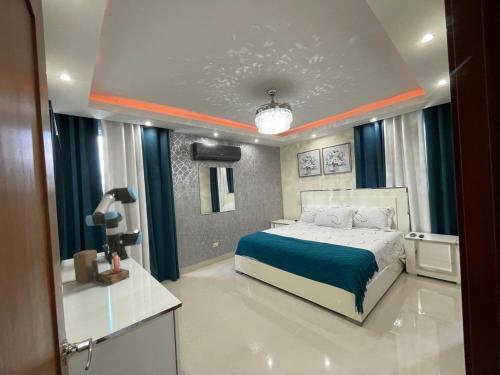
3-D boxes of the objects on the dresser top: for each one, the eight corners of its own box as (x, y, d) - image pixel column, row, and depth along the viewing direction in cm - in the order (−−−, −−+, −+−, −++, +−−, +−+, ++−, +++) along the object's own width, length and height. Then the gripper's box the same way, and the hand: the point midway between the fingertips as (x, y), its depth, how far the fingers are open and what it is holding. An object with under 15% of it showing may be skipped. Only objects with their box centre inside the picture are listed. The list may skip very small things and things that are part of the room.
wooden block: (87, 283, 151) (84, 254, 150) (75, 282, 153) (72, 254, 152) (99, 276, 160) (97, 249, 160) (88, 276, 162) (85, 249, 162)
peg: (117, 274, 155) (116, 254, 155) (121, 274, 153) (119, 254, 153) (111, 276, 152) (110, 256, 152) (115, 277, 150) (113, 256, 150)
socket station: (116, 272, 167) (115, 252, 166) (132, 276, 157) (130, 254, 157) (93, 281, 153) (91, 259, 152) (108, 286, 143) (106, 262, 143)
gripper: (121, 230, 161) (124, 262, 162) (96, 236, 147) (99, 271, 147) (128, 231, 158) (130, 263, 158) (102, 237, 143) (105, 272, 143)
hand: (115, 267), depth 152 cm, fingers closed on peg, 4 cm apart
